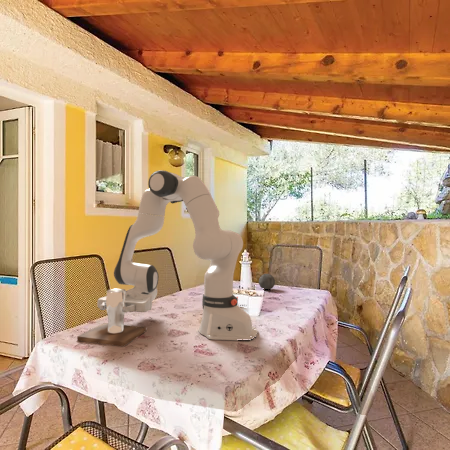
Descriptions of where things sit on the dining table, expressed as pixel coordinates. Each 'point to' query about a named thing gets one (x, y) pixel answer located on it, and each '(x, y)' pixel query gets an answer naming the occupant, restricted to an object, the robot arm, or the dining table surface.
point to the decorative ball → (266, 281)
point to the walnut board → (111, 335)
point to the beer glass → (115, 310)
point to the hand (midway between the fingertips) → (112, 309)
